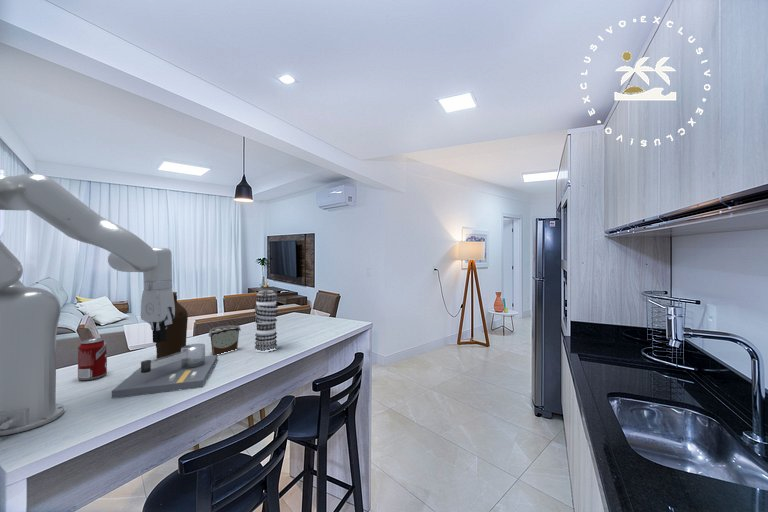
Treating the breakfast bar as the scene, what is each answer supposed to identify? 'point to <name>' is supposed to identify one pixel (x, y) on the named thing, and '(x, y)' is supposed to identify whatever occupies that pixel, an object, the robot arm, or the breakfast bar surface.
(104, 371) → the soda can
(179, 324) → the olive oil
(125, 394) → the grey flat square slab
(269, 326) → the decorative candle
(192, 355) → the metal ladle
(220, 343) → the food container
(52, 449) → the breakfast bar surface
